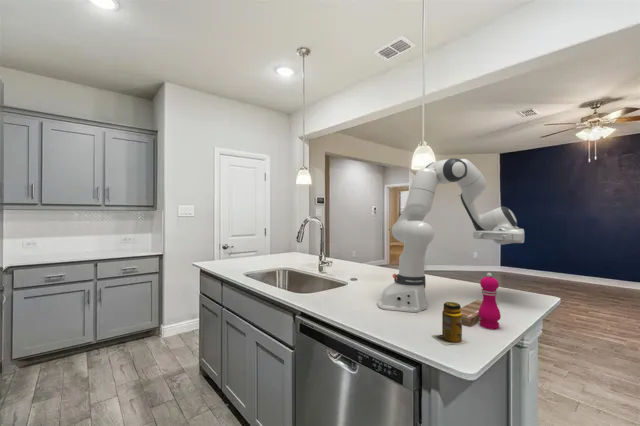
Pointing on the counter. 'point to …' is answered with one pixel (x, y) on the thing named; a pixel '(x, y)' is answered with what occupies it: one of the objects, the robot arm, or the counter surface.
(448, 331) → the condiment
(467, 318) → the board
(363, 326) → the counter surface
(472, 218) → the robot arm
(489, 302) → the pepper mill
